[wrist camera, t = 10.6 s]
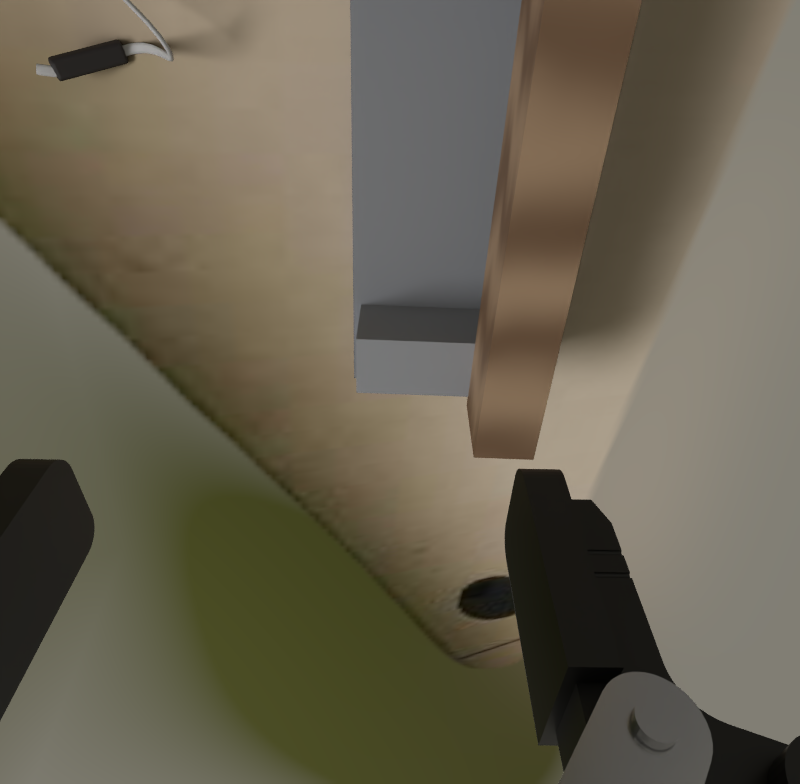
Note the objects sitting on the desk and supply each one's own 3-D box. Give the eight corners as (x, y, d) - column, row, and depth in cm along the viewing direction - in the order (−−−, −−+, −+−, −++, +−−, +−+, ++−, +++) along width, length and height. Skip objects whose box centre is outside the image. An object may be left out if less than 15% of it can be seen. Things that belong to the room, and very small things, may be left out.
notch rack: (351, -195, 26) (328, -260, 19) (640, -180, 26) (731, -239, 19) (355, 366, 43) (345, 446, 36) (528, 373, 44) (552, 453, 36)
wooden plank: (548, -194, 22) (580, -232, 17) (641, -189, 22) (695, -226, 18) (466, 405, 38) (473, 457, 34) (519, 407, 38) (533, 459, 34)
